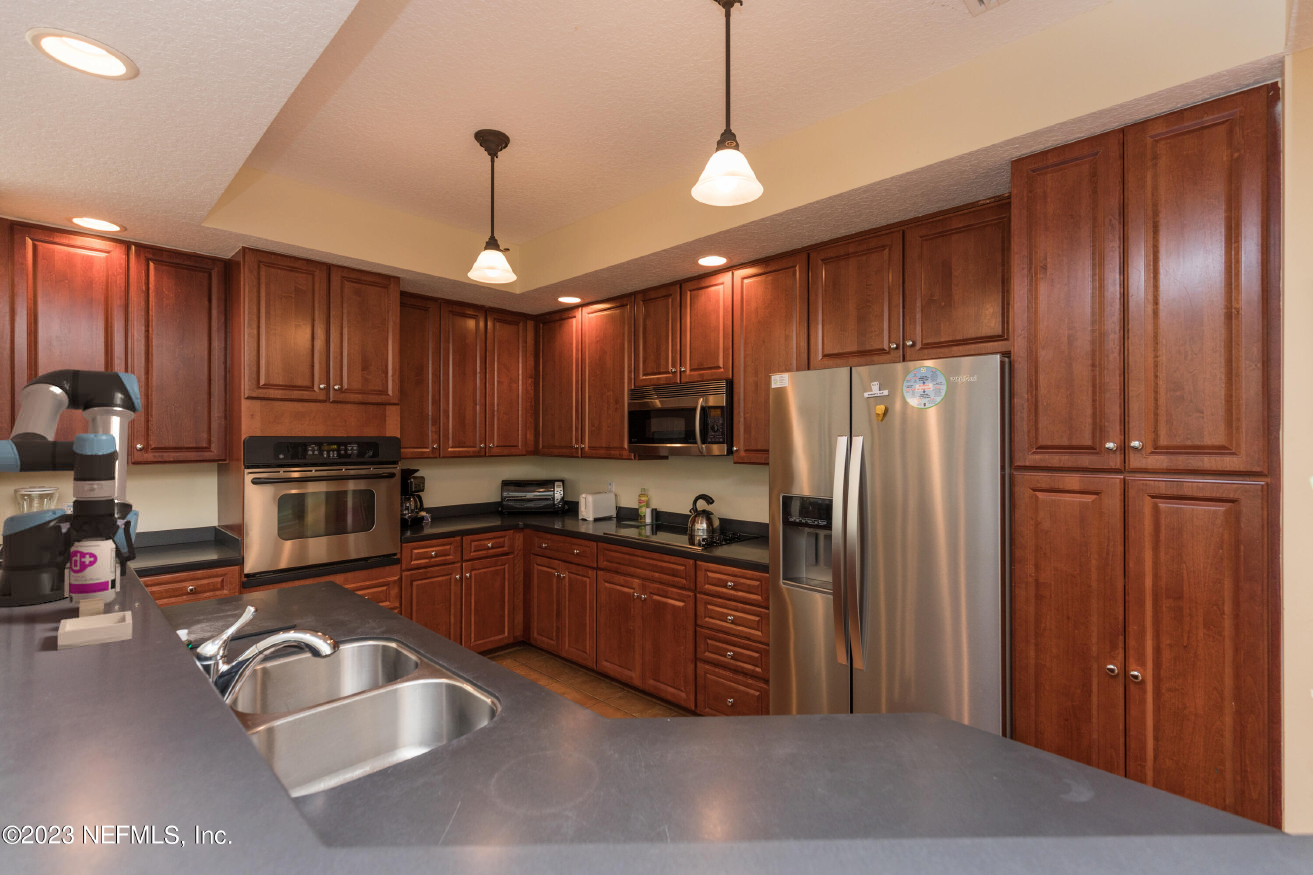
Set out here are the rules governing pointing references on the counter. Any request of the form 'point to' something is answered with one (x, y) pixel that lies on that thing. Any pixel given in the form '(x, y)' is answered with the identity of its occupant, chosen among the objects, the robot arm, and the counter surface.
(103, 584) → the supplement can
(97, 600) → the birch block
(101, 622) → the off-white tray
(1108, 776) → the counter surface
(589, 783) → the counter surface
